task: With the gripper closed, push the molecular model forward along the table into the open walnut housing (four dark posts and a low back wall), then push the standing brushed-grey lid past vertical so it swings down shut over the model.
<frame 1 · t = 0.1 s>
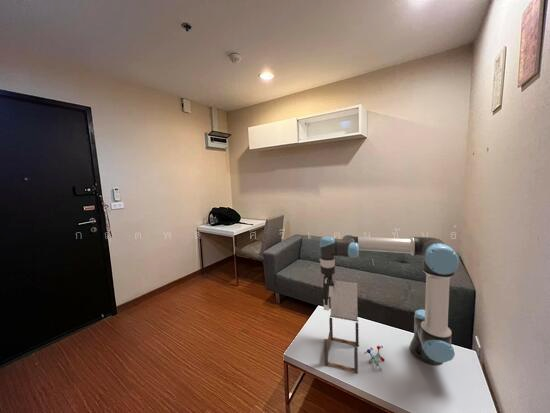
hand: (328, 303, 121), 28 cm above the table, fingers open, 13 cm apart
housing: (342, 354, 121), on the table
molecular model: (374, 363, 115), on the table
lid: (343, 300, 130), point 24 cm above the table, hinge at 98.0°
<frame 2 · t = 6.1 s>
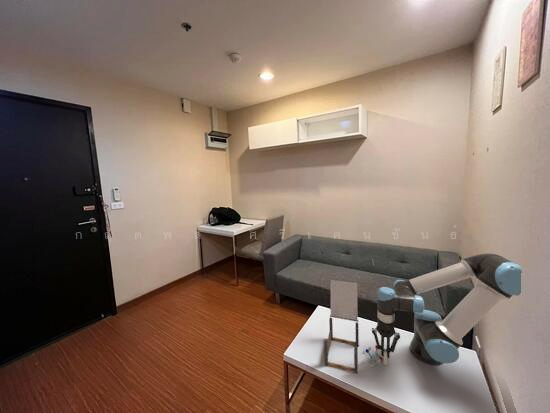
hand: (385, 362, 112), 2 cm above the table, fingers closed
molecular model: (373, 362, 115), on the table, touching gripper
everything else where it was.
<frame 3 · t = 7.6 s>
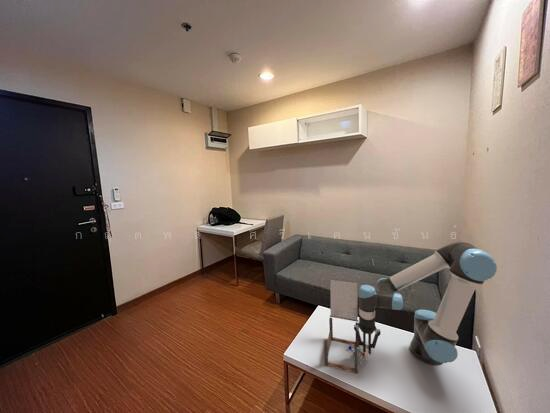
hand: (367, 358, 116), 2 cm above the table, fingers closed
molecular model: (355, 358, 118), on the table, touching gripper
everything else where it was.
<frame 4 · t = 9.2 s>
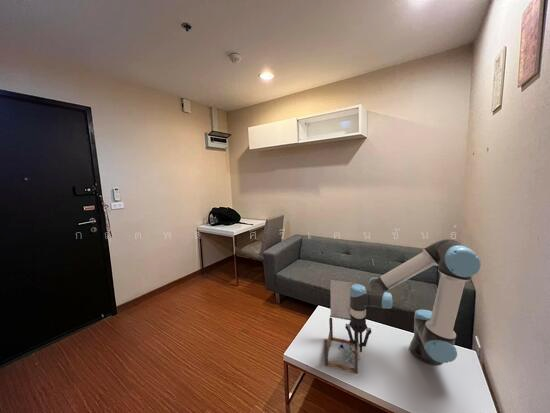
hand: (358, 356, 117), 1 cm above the table, fingers closed
molecular model: (347, 357, 119), on the table, touching gripper
everything else where it was.
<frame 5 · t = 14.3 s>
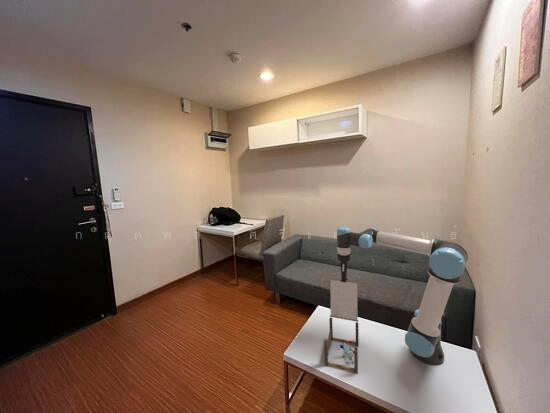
hand: (344, 291, 134), 27 cm above the table, fingers closed
molecular model: (347, 357, 119), on the table
lid: (343, 300, 130), point 24 cm above the table, hinge at 98.0°, touching gripper, hand
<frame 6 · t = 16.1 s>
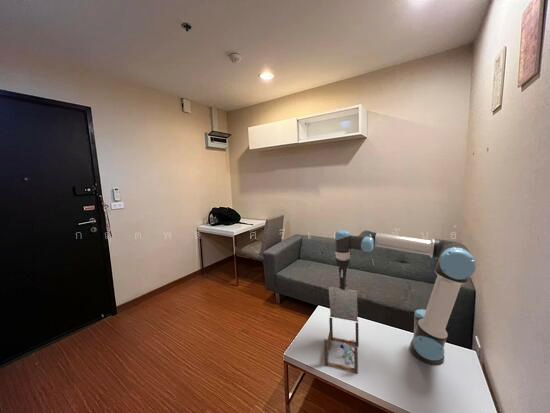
hand: (343, 297, 127), 27 cm above the table, fingers closed
lid: (343, 304, 126), point 24 cm above the table, hinge at 75.8°, touching gripper
everything else where it was.
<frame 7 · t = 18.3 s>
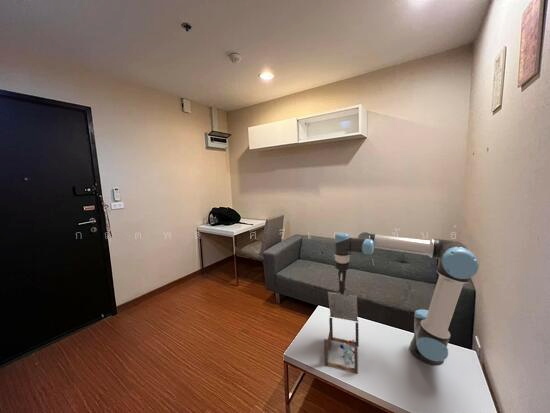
hand: (342, 301, 124), 27 cm above the table, fingers closed
lid: (342, 307, 124), point 24 cm above the table, hinge at 65.9°, touching gripper
everything else where it was.
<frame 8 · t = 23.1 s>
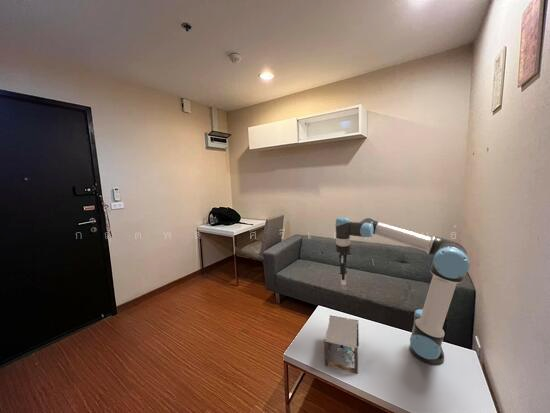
hand: (343, 284, 128), 34 cm above the table, fingers closed
lid: (342, 329, 120), point 14 cm above the table, hinge at -0.2°
everything else where it was.
at the end: molecular model inside the target area on the housing (3.3 cm from its centre), point 0.0 cm above the housing's base; lid at +0° (first picture: +98°); the gripper is holding nothing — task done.
